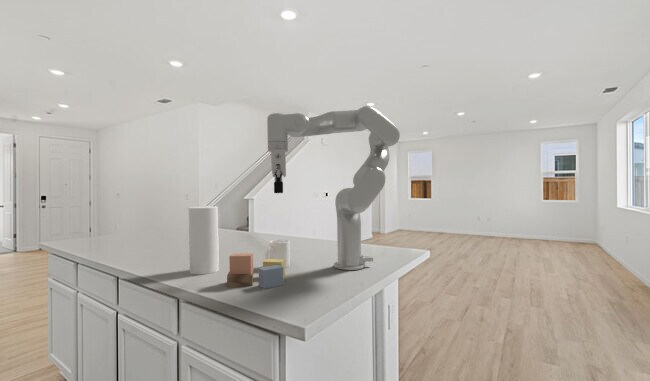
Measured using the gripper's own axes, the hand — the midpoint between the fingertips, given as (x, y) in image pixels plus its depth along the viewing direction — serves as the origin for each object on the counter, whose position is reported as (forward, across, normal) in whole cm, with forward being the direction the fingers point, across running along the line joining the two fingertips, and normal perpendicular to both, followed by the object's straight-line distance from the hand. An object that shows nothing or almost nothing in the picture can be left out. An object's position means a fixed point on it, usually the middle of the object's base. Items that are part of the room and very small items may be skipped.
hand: (278, 192), depth 123 cm
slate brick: (+30, -15, +3) cm, 34 cm away
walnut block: (+31, -11, +13) cm, 35 cm away
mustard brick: (+30, -5, +2) cm, 31 cm away
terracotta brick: (+27, -11, +13) cm, 31 cm away
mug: (+31, +9, +1) cm, 32 cm away
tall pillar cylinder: (+31, +9, +29) cm, 43 cm away
